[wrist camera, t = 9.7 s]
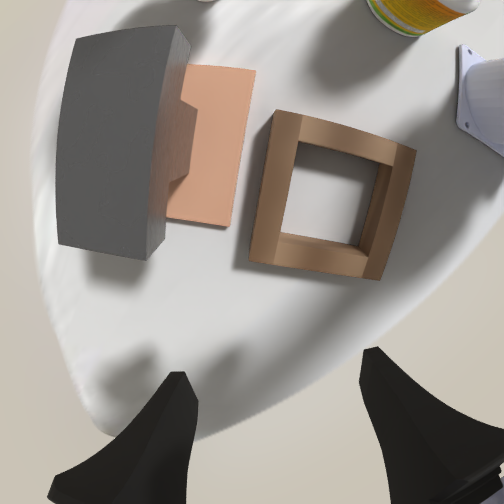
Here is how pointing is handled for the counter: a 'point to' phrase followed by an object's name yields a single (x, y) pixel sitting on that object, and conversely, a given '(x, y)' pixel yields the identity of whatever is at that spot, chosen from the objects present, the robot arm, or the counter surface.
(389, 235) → the walnut holder
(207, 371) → the counter surface
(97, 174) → the dark grey block
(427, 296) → the counter surface
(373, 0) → the supplement bottle
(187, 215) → the terracotta coaster
